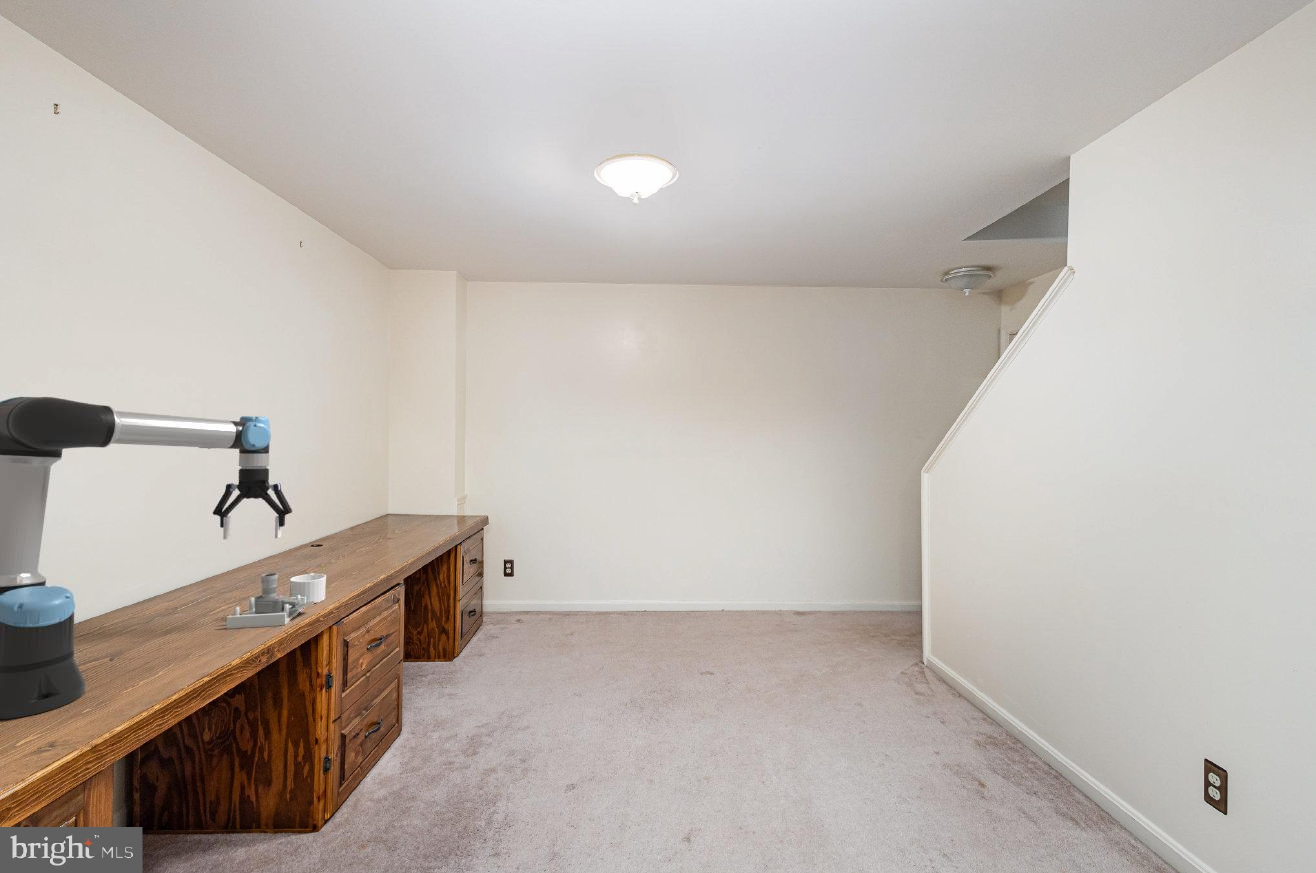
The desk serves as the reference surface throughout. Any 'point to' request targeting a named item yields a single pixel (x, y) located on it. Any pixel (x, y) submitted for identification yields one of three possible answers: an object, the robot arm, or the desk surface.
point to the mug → (309, 587)
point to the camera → (274, 598)
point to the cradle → (261, 616)
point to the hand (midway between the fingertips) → (252, 538)
